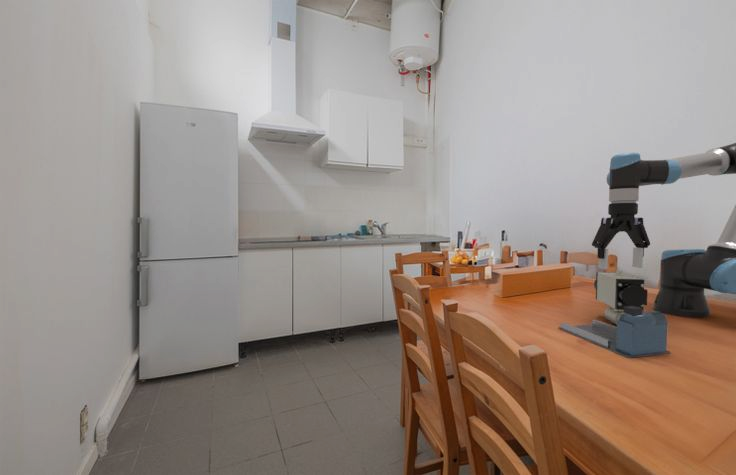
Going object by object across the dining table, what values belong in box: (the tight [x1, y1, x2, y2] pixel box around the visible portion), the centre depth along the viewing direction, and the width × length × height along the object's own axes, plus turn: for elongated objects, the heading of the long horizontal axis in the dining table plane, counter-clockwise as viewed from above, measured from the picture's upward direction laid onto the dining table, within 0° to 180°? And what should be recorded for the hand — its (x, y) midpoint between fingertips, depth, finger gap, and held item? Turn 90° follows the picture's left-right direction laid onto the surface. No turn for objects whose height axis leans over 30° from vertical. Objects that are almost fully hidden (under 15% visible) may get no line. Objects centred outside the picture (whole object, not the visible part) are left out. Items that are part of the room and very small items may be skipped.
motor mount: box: [557, 306, 671, 359], centre depth 94 cm, size 13×23×12 cm, turn 12°
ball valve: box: [593, 269, 649, 326], centre depth 107 cm, size 18×8×18 cm, turn 168°
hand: (620, 268), depth 107 cm, fingers open, 13 cm apart
